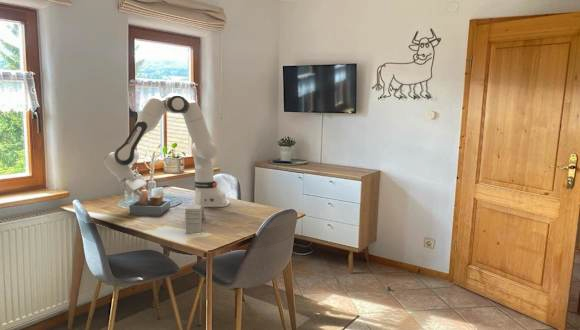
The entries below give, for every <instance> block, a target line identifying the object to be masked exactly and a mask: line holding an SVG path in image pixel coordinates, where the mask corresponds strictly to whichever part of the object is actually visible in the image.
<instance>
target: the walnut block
mask: <svg viewBox="0 0 580 330" xmlns="http://www.w3.org/2000/svg"><path fill="white" fill-rule="evenodd" d="M149 200H150V206H159V207H160V206H162V201H163V195H152V196H150V197H149Z"/></svg>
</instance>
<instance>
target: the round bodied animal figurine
mask: <svg viewBox="0 0 580 330" xmlns="http://www.w3.org/2000/svg"><path fill="white" fill-rule="evenodd" d="M195 205H201V204H195ZM205 208H206V207H204V206H203V205H202V220H205V219H206V214H205V212H206V209H205Z"/></svg>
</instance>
